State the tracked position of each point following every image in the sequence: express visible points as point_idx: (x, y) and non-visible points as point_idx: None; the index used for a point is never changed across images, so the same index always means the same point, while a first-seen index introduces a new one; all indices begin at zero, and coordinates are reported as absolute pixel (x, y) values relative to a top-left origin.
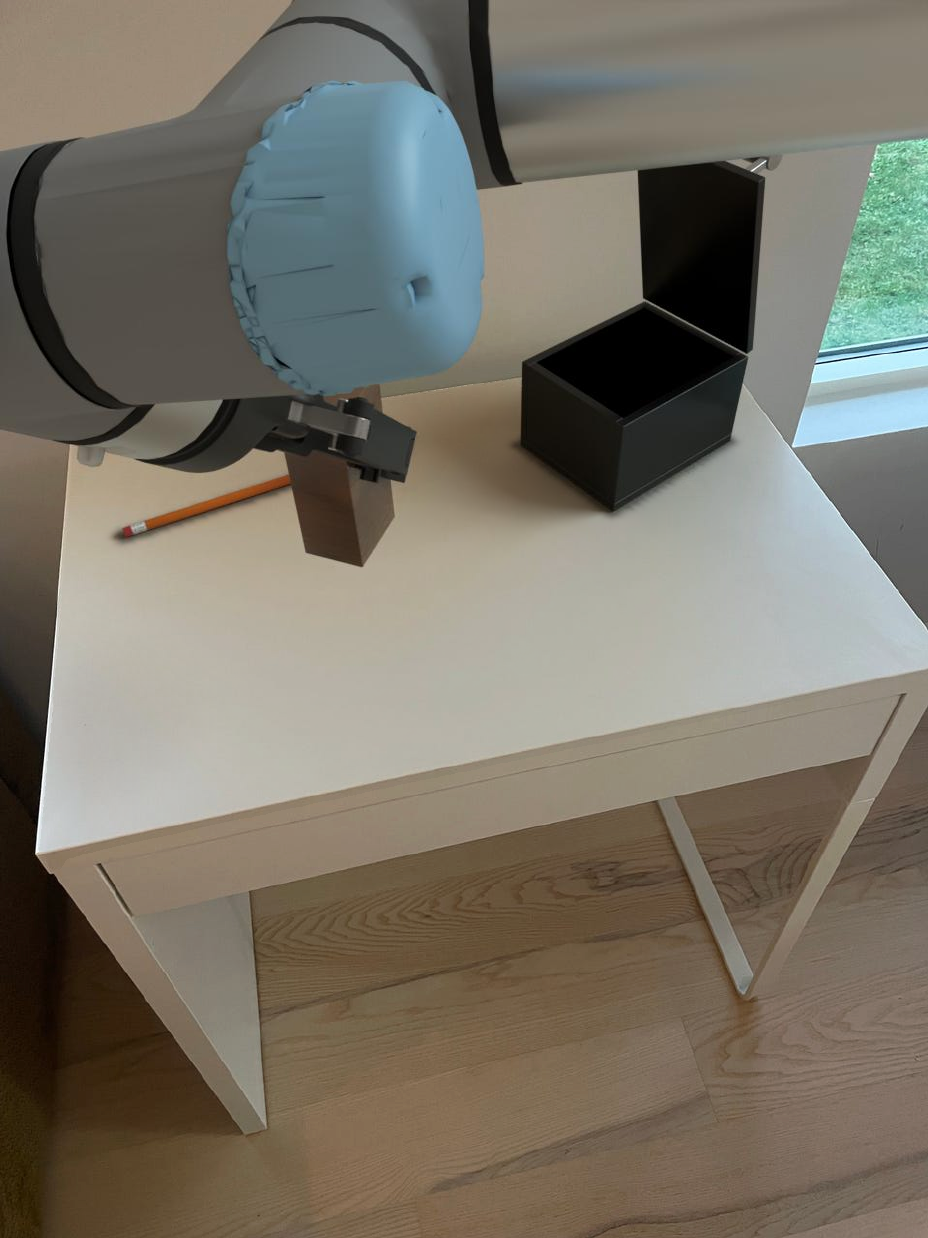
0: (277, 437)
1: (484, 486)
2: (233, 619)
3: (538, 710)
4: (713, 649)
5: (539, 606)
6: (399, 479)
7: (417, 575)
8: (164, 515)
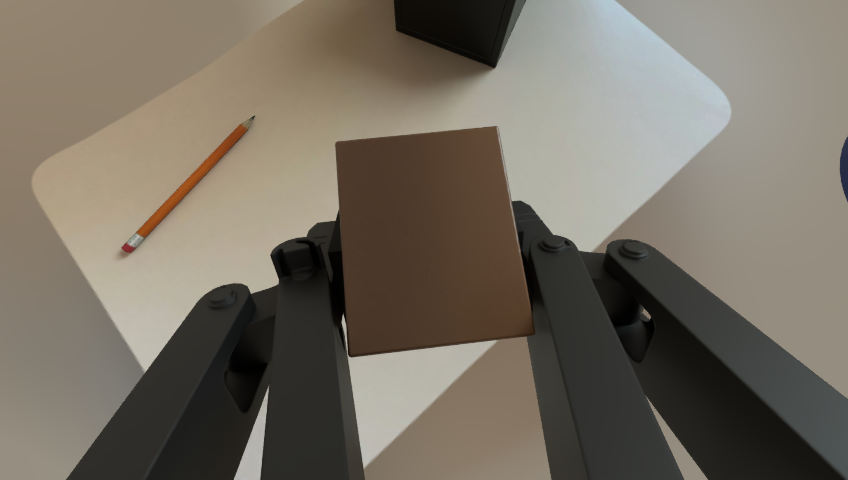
0: (340, 327)
1: (391, 80)
2: None
3: None
4: (617, 160)
5: None
6: None
7: None
8: (151, 219)
